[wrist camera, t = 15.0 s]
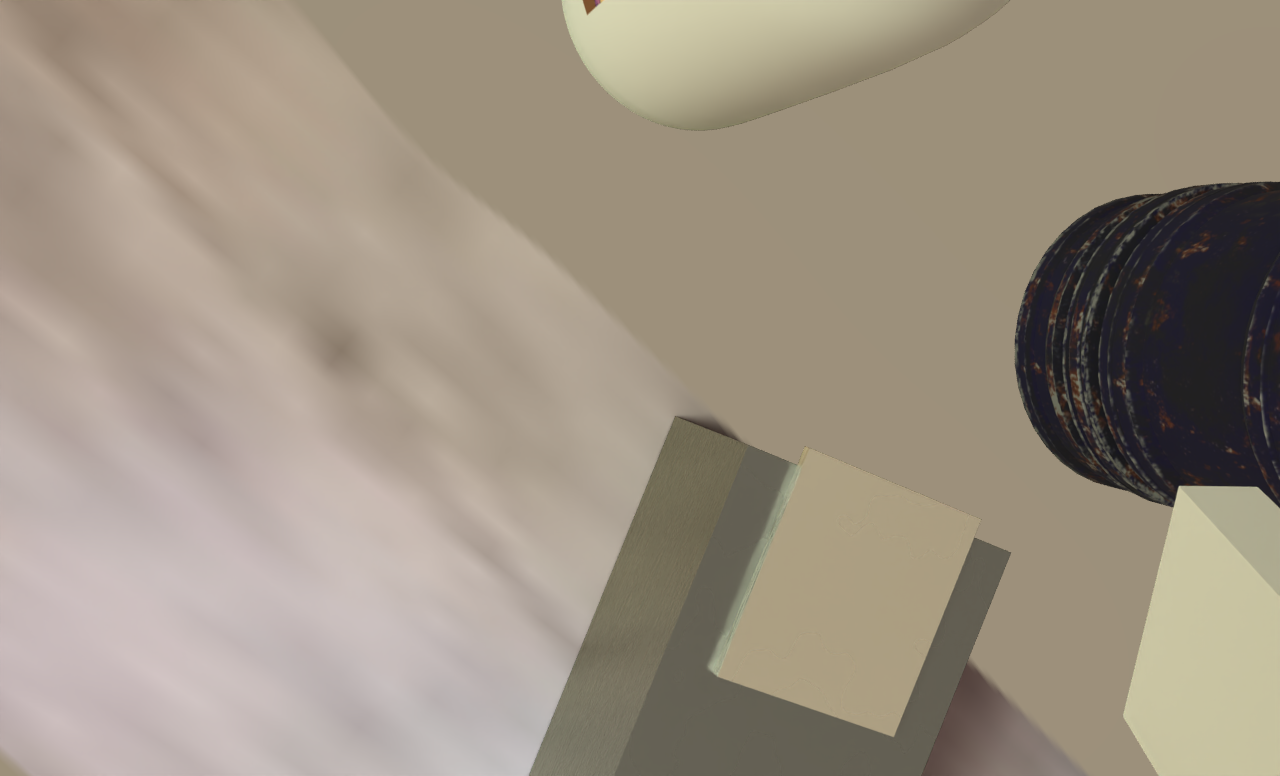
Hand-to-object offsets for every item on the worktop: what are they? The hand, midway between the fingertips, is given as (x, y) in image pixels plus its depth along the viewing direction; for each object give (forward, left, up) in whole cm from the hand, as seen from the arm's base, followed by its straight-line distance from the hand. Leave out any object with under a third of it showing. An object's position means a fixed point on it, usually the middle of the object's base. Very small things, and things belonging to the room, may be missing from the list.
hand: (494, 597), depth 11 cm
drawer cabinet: (+5, +12, -22) cm, 25 cm away
